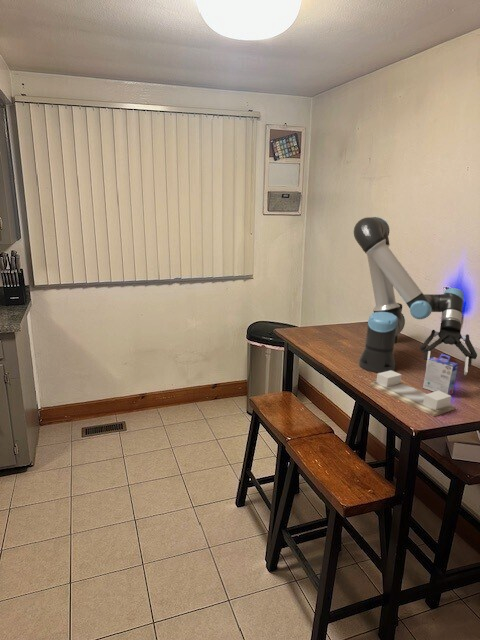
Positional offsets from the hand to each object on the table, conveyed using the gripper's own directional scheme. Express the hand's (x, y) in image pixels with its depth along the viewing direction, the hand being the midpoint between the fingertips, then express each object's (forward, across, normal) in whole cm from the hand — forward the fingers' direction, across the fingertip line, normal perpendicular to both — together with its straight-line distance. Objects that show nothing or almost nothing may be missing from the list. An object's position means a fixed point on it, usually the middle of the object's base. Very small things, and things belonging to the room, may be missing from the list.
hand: (446, 370), depth 169 cm
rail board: (+15, +12, +5) cm, 20 cm away
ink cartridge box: (+8, +2, -4) cm, 9 cm away
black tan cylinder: (-32, +24, -44) cm, 60 cm away
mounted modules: (+14, +12, +6) cm, 19 cm away
